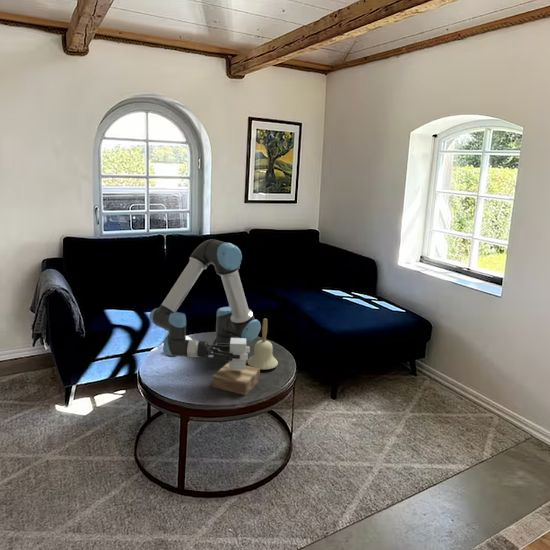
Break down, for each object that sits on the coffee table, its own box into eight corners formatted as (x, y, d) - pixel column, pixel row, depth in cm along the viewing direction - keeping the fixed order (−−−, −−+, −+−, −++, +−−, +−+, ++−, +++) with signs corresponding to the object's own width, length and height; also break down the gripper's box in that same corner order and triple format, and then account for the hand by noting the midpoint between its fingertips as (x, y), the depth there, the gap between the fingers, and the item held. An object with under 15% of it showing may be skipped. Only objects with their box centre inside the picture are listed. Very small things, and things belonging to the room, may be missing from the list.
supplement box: (245, 363, 227) (247, 338, 224) (245, 370, 220) (246, 344, 217) (229, 363, 227) (230, 337, 224) (228, 369, 220) (229, 343, 217)
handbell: (264, 375, 236) (267, 326, 230) (240, 365, 245) (243, 318, 239) (283, 365, 248) (287, 318, 242) (260, 356, 257) (262, 311, 251)
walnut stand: (228, 373, 236) (229, 361, 234) (259, 380, 230) (260, 368, 229) (212, 387, 221) (213, 375, 220) (245, 395, 216) (246, 382, 214)
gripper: (202, 348, 233) (250, 352, 233) (193, 366, 213) (245, 370, 213) (202, 333, 231) (251, 337, 231) (193, 350, 212) (246, 354, 211)
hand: (248, 353), depth 222 cm, fingers closed on supplement box, 8 cm apart
